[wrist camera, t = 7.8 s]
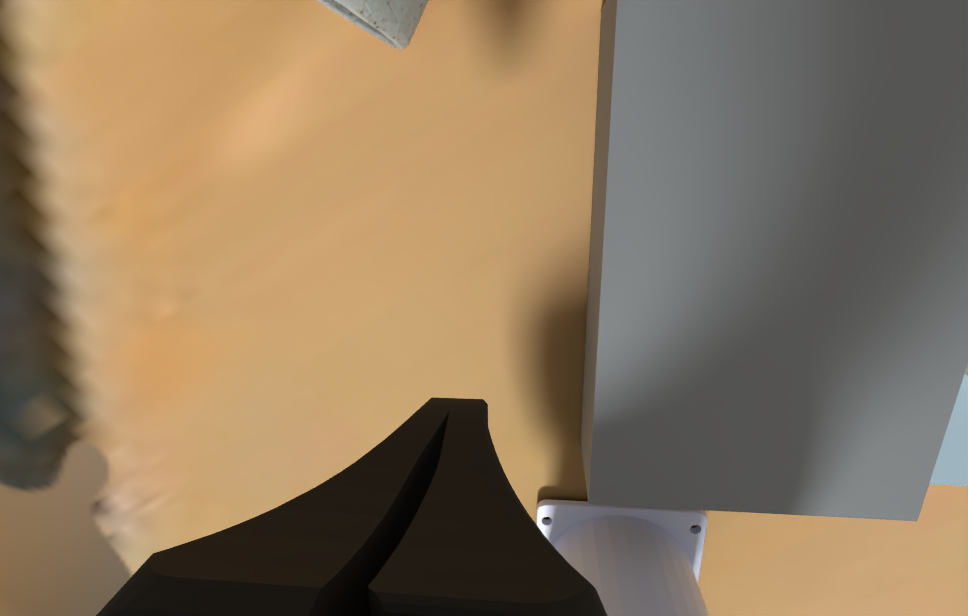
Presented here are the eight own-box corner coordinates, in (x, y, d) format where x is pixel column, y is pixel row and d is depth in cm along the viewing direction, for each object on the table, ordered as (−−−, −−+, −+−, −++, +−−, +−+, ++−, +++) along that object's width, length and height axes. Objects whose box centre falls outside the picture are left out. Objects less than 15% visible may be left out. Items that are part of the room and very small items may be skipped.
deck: (853, 456, 22) (916, 521, 19) (580, 445, 24) (588, 503, 20) (972, -9, 16) (1100, -51, 13) (601, 9, 18) (618, -25, 14)
